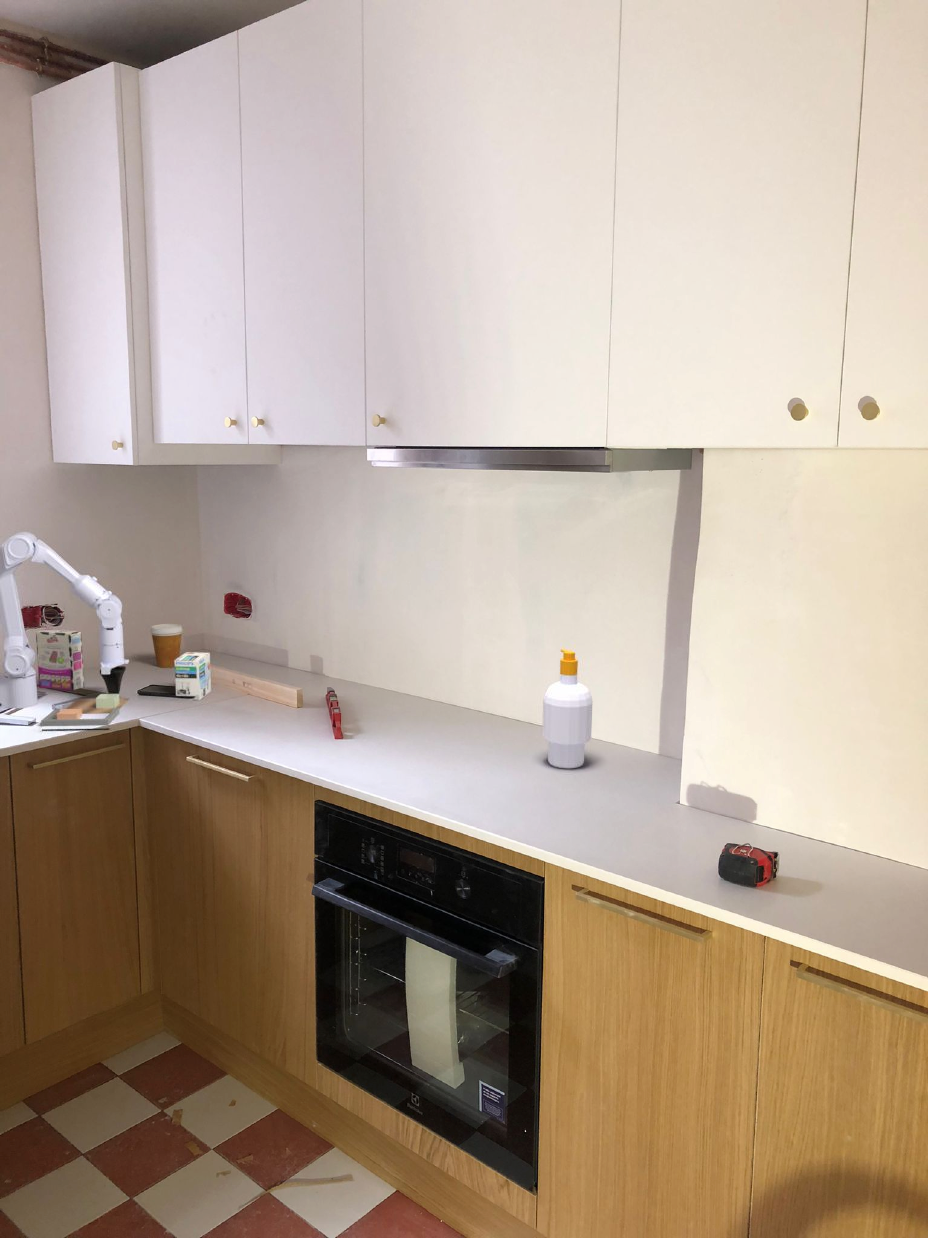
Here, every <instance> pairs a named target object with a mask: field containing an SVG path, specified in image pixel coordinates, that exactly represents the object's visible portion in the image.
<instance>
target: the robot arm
mask: <svg viewBox="0 0 928 1238" xmlns="http://www.w3.org/2000/svg"><path fill="white" fill-rule="evenodd" d="M30 558H31V560H30V562H32V563H38V564H44V565H46V566H47V567H48V568H50V569H51V570H52V571H53V572H55V573H56V574H57V575H59V577H61V578H63V580H65V581H66V582H67V583H69V584H70V586H71V592H72V593H73V594H74V595H75V596H76V597H78V599H80V600H81V601H82V602H84V604H86V605H87V606H89V607H90V608H91V609H93V610H95V611H96V616H97V617H98V620H99V622H98V623H99V624H98V640H99V643H98V644H99V665H100V669H99V675H100V676H101V677H102V679H103V681H104V683H105V686H106V690H107V694H119V695H120V691H121V685H122V680H123V676H124V673H125V672H126V669H127V666H123V665H126V664H129V663H130V659H125V651H124V649H125V648H124V629H123V624H122V623H123V618H122V612H123V611H122V610H123V603H122V601H121V600H120V598H119V597H118V596H117V595H115V594H113V592H112V591H111V590H106V589H105V588H104V587H103V586H102V585H101V584H99V583H98V582H97V581H98V578H96V576H94V575H93V576H92V577H91V576H90V575H88V574H80V573H79V572H78V571H77V570H75V569H74V568H73V567H72V566H71V565H70V564H69V563H68V562H67V561H66V560H64V559H63V558H62V557H61V556H60V555H59V554H58V553H57V552H56V551H55V550H54V549H53V548H51V547H50V546H49V545H48V544H46V543H45V542H44V541H42V540H41V539H38V538H37V537H36V535H34V534H33V533H31V532H29V531H20V532H17V533H15V534H14V535H12V536H10V537H9V538H7V540H5V542H3V543H2V544H1V545H0V622H1V623H0V624H1V628H2V629H1V630H2V635H3V639H4V640H3V653H4V655H3V660H2V663H1V665H2V668H3V670H4V673H3V674H0V709H26V708H32V707H35V706H37V705H38V704H39V703H38V700H39V699H38V689H37V688H38V687H37V673H36V670H35V669H34V667H33V665H34V663H35V660H36V653H35V651H34V649H33V648H32V647H31V645H30V642H29V639H28V636H27V635H26V631H25V626H24V625H25V624H24V620H23V619H24V618H23V613H22V607H21V603H20V597H19V592H18V587H17V581H16V575H15V572H16V570H17V569H19V567H21V565H22V564H23V562H24V561H26V560H28V559H30Z"/></svg>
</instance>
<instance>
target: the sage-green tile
mask: <svg viewBox="0 0 928 1238" xmlns="http://www.w3.org/2000/svg"><path fill="white" fill-rule="evenodd" d="M119 698H120V693H119V694H108V693H100V694H99V695H98V696H97V697H96V698H95V699H96V708H116V707H117V706H118V704H119Z"/></svg>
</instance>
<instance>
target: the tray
mask: <svg viewBox="0 0 928 1238" xmlns="http://www.w3.org/2000/svg"><path fill="white" fill-rule="evenodd" d="M60 709H61V708H54V709H53V710H52V711H51V712H50V713H49V714H48V715H46V716H45V717H44V718H43V719H42V720H41V721H40V724H41V727H82V726H83V727H85V726H88V727H89V726H91V727H93V726H94V727H95V726H110V724H111V723H113V721H114V720H115V719H116V718H117V717H118V716H119V715H120V709H119V708H115V709H114V710H113V711H112V712H111V713H108V715H106V717H105V718H79V719H57V713H59V712H60V711H61V710H60ZM109 730H111V728H110V727H109V728H108V727H105V728H104V727H102V728H101V727H100V728H57V729H56V728H52V729H50V728H46V729H41V732H68V731H69V732H73V731H74V732H75V731H79V732H81V731H109Z"/></svg>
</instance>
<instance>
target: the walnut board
mask: <svg viewBox="0 0 928 1238" xmlns="http://www.w3.org/2000/svg"><path fill="white" fill-rule="evenodd" d="M78 699H79V700H77V699H76V700H74V701H73V702H72V703H71V704H70V705H68V706H67V707H66V708H65V709H82V715H92V714H93V715H97V714H102V715H103V714H105V715H106V714H110V713H111V712H112V711H113V710H114V709H115V708H96V698H78ZM129 699H130V697H127V698H126V697H124V698H123V697H121V698H120V697H119V704H118V706H117V707H116V708H119V710H120V709H121V708H122V707H123V706H124V704H126V703H127V702H128V701H129Z"/></svg>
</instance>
